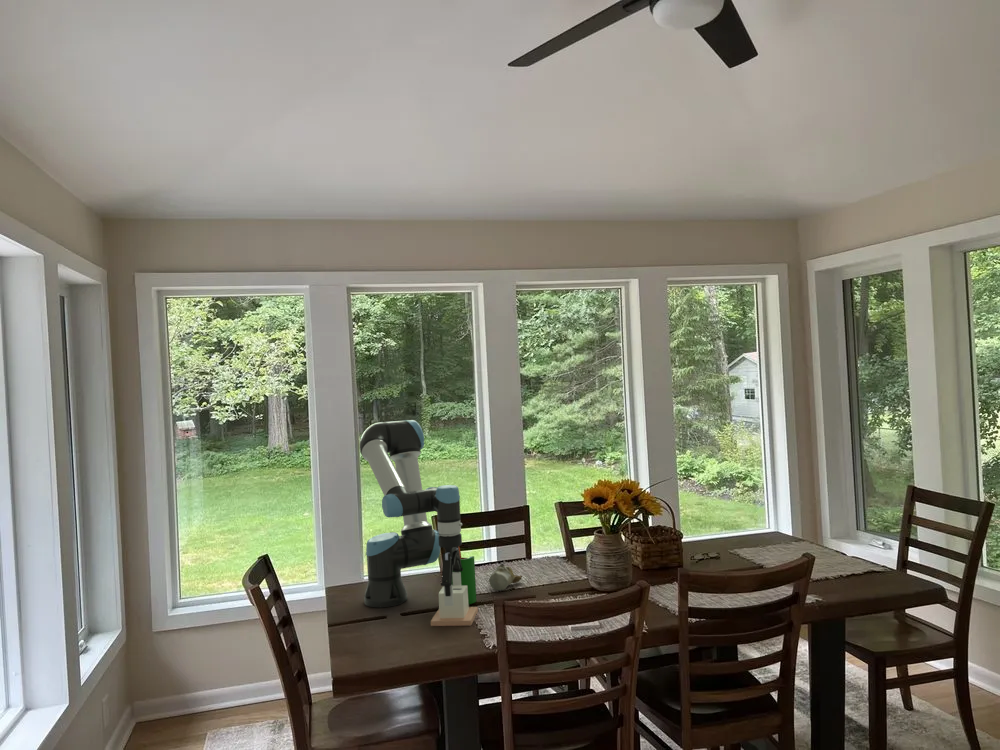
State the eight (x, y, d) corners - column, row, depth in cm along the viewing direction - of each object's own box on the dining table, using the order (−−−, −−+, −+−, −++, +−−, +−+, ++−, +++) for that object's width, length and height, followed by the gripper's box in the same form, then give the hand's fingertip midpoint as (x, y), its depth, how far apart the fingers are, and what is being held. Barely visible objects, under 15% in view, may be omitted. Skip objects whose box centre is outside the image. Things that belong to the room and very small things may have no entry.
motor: (479, 598, 252) (476, 541, 252) (470, 606, 244) (467, 548, 244) (453, 596, 256) (450, 541, 255) (443, 605, 247) (439, 547, 247)
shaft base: (430, 625, 227) (429, 605, 227) (439, 611, 240) (438, 592, 240) (471, 625, 225) (469, 604, 225) (478, 611, 238) (476, 591, 238)
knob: (439, 618, 229) (438, 592, 229) (445, 609, 237) (443, 585, 237) (464, 618, 228) (462, 592, 228) (468, 609, 236) (467, 584, 236)
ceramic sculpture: (481, 567, 260) (497, 558, 274) (482, 591, 260) (497, 581, 273) (508, 569, 256) (523, 560, 270) (509, 593, 256) (524, 583, 269)
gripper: (453, 543, 220) (457, 611, 220) (468, 524, 244) (471, 586, 245) (429, 543, 221) (433, 611, 221) (446, 525, 245) (450, 586, 246)
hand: (453, 598), depth 233 cm, fingers open, 13 cm apart
